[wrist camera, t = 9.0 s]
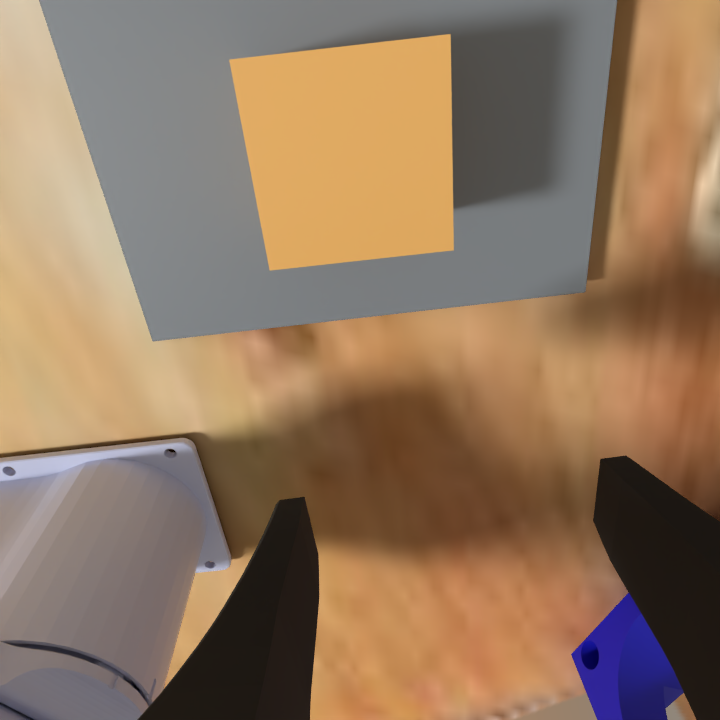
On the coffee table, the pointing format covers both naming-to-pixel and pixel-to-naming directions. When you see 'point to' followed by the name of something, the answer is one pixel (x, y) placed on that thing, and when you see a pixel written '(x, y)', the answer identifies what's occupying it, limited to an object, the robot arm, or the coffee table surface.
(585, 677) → the cable clip
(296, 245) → the cardboard carton
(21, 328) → the coffee table surface
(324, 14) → the plate
